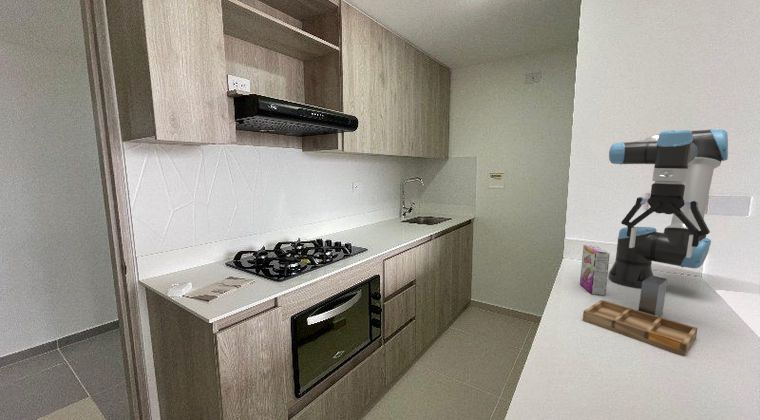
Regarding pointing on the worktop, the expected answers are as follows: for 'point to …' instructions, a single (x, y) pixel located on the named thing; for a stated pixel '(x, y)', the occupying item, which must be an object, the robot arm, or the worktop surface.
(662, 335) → the bay rack
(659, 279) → the panel
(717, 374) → the worktop surface
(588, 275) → the candy bar box
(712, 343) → the worktop surface
